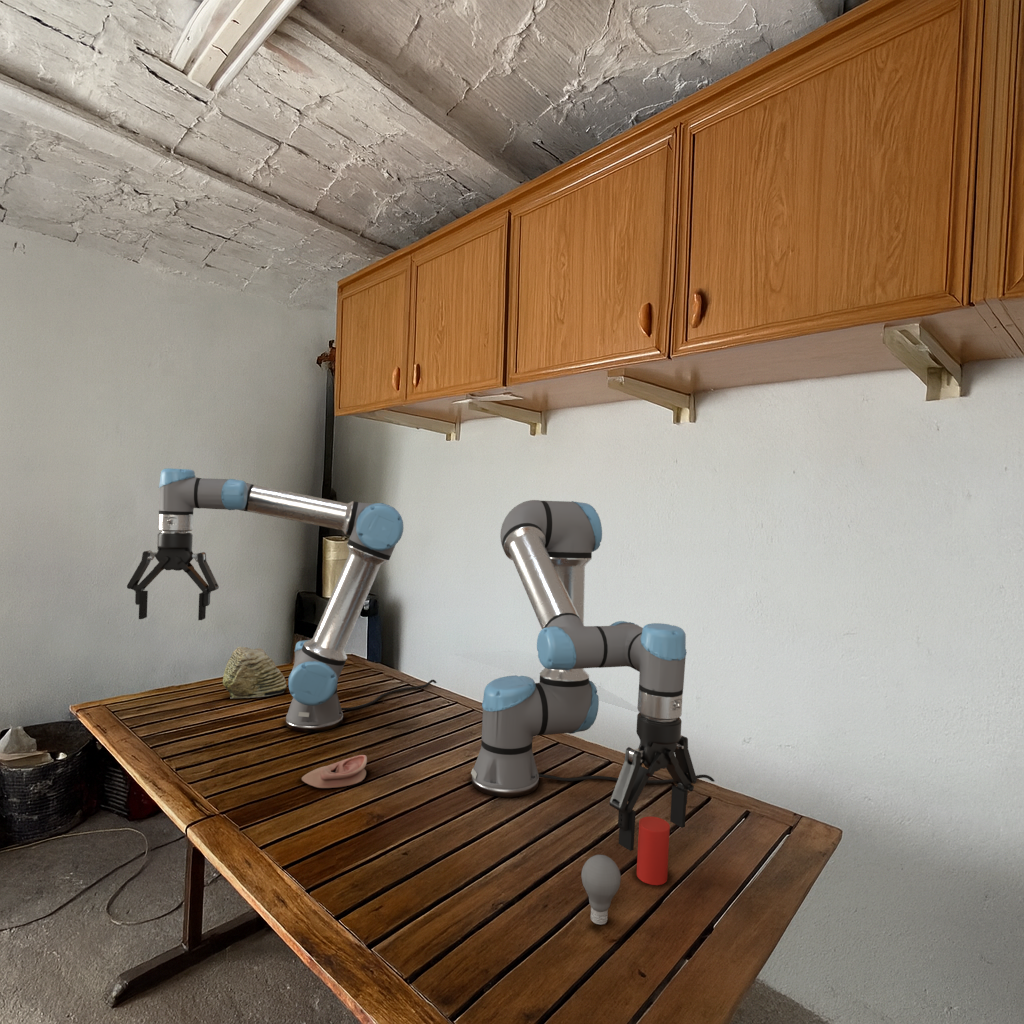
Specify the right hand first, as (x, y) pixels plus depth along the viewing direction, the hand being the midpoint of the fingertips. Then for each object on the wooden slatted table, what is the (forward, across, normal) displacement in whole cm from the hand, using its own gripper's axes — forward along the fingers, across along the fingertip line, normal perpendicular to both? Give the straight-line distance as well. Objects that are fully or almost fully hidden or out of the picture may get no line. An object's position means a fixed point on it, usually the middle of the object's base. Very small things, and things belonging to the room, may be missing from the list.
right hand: (652, 835), depth 110 cm
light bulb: (+7, -17, -4) cm, 19 cm away
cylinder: (+7, 0, 0) cm, 7 cm away
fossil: (+9, -30, +133) cm, 137 cm away
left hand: (-24, -59, +102) cm, 120 cm away
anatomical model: (+8, -32, +64) cm, 72 cm away
